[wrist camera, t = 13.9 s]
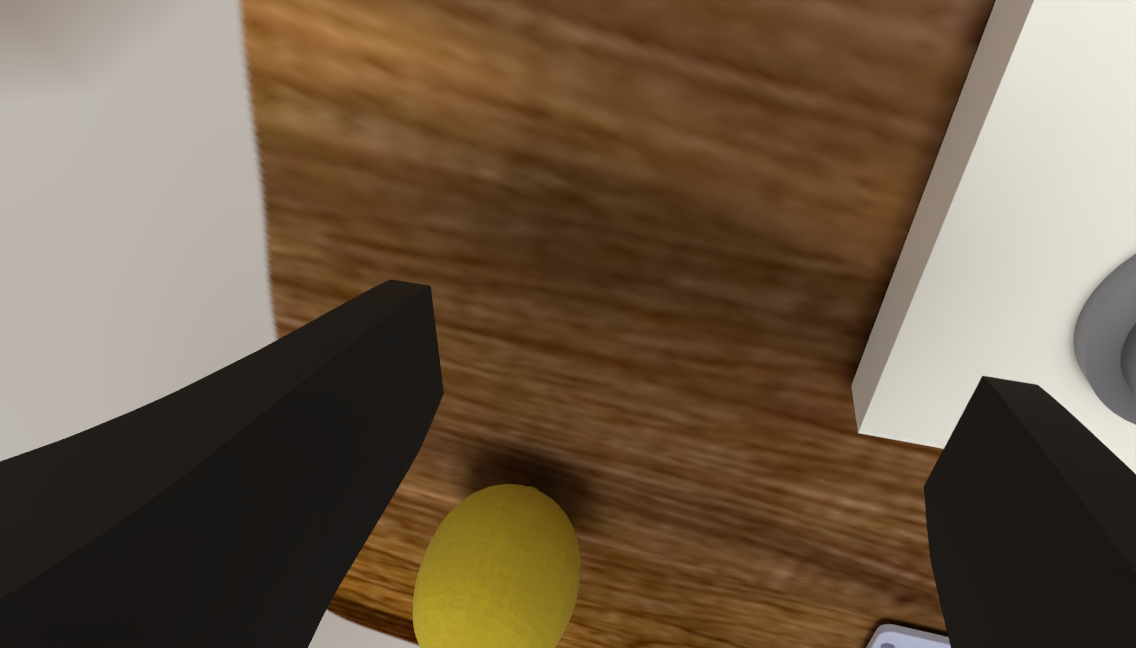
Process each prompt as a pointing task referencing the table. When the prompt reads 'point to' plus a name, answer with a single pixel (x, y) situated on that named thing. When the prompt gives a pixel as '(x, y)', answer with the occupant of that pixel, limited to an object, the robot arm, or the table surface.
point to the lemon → (498, 573)
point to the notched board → (1021, 236)
